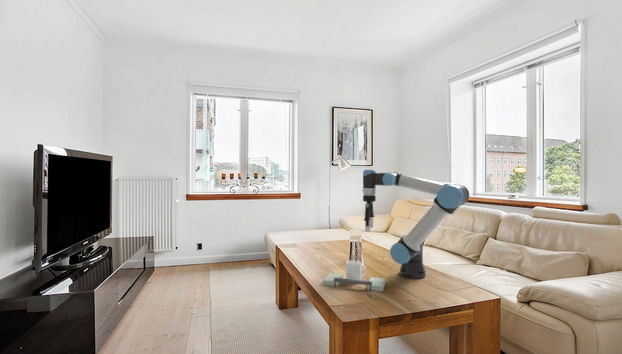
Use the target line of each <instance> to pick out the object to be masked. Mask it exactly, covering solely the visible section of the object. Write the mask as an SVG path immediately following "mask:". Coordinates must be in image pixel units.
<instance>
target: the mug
mask: <svg viewBox="0 0 622 354" xmlns="http://www.w3.org/2000/svg"><path fill="white" fill-rule="evenodd" d="M362 268H363V269H364V270H365V273H364V274H362ZM366 275H367V268H366V265H364V264H362V262H361V261H360V260H351V259H350V260H347V261H346V262H345V276H346V277H345V279H353V280H362V279H363V278H364V277H366Z"/></svg>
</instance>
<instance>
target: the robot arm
mask: <svg viewBox="0 0 622 354" xmlns="http://www.w3.org/2000/svg"><path fill="white" fill-rule="evenodd" d="M377 186H383V187H384V186H385V187H389V186H390V187H392V186H397V187H401V188H405V189H409V190H413V191H418V192H421V193H424V194H428V195H433V196H436V197H435V198H433V204H432V206H430V208H429V209H428V210H427V211H426V213H425V214H424V215H423V216H422V217H421V218H420V219H419V220H418V222H417V223H416V224H415V226H413V228H412V229H411V230H410V231H409V232H408V233H407V234H403V235H402V236H401V237H400V239H399V240H398V241H397V242H396V243H394V244H392V245H391V247H390V249H389V253H390V257H391V259H392V260H393V261H394V262H395V263H397V264H399V265H400V267H399V275H400V276H402V277H405V278H409V279H423V278H426V276H427V273H426V271H427V270H426V268H425V266H424V261H423V259H424V258H423V257H424V255H423V253H424V246H423V245H424V242H425V241H426V239H427V238H428V237H430V235H431V234H432V233H433V232H434V231H435V229H436V228H438V226H439V225H440V224H441V222H442V221H444V219H445V218H447V216H448V215H453V214H454V213H455V212H456V211H457V210H458V209H459V208H460V206H463V205H465V204H466V203H467V202H468V201H469V199H470V191H469V189H468V188H467V187H466V185H463V184H461V183H451V182H447V181H446V182H445V183H443V182H438V181H432V180H429V179H425V178H420V177H416V176H411V175H406V174H402V173H399V172H396V171H395V172H376V170H375V169H364V170H363V171H362V194H363V195H362V201H363V202H365V210H364V211H365V212H364V219H363V221H365V223H364V228H365V230H364V231H365V232H367V233H369V232H371V229H373V228H374V218H375V214H374V202H376V189H377V188H376V187H377Z"/></svg>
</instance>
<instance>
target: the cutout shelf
mask: <svg viewBox="0 0 622 354" xmlns="http://www.w3.org/2000/svg"><path fill="white" fill-rule="evenodd" d="M341 283H346V284H354V285H355V284H356V285H363V286H364V285H365V286H367V288H366V290H368V291H375V292H376V291H377V292H384V289H385V285H386V278H381V277H372V276H371V277H370V278H369V280H362V279H361V280H353V279H346V278H344V274H343V273H342V274H341V273H333V272H332V273H330V272H329V274H327V276H326V277H325V278H324V279H323V286H331V287H339V285H340V284H341Z"/></svg>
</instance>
